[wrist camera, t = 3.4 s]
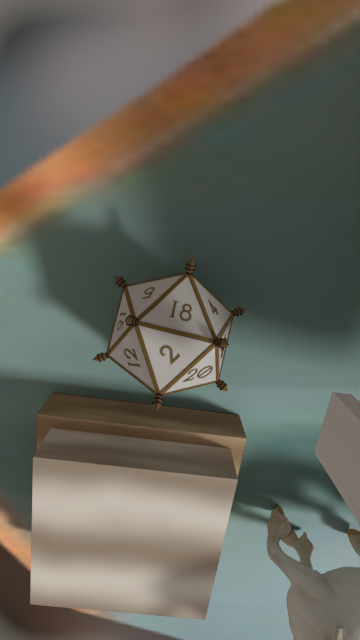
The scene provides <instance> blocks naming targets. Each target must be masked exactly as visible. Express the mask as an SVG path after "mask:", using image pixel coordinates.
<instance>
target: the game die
mask: <svg viewBox="0 0 360 640" xmlns="http://www.w3.org/2000/svg"><path fill="white" fill-rule="evenodd" d="M186 265H187V266H186V267H185V269H186V272H185V273H180V274H175V275H171V276H166V277H162V278H157V279H153V280H148V281H143V282H139V283H134V284H130V285H127V284H126V282H125V280H123V277H122V278H120V277H116V276H115V279H116V284H118V285H119V287H122V288H123V292H122V296H121V300H120V303H119V307H118V311H117V315H116V319H115V323H114V326H113V330H112V334H111V338H110V342H109V346H108V349H107V352H106V353H103V352H102V353H101V354H97V356H96V357H95V358H94V359H93V360H96V361H100V362H101V361H103V360H104V361H105V359H106V358H110V359H111V360H112V361H114V362H115V363H116V364H117V365H119V366H120V367H121V368H123V369H124V370H125V371H126V372H128V373H129V374H130V375H132V376H133V377H134V378H135V379H137V380H138V381H139V382H140V383H142V384H143V385H144V386H146V387H147V388H148V389H149V390H151V391H152V392H153V393H154V395H155V394H156V396H155V398H154V402H152V403H153V405H154V406H155V409H156V411H157V410H158V408H159V407H160V406H162V405H163V404H162V401H163V399H162V396H164V395H168V394H172V393H176V392H180V391H184V390H188V389H192V388H196V387H200V386H204V385H208V384H211V383H216V384H217V387H219V388H220V390H225V391H227V386H226V385H227V384H226V383H224V381H221V380H220V379H219V378H220V373H221V369H222V365H223V360H224V356H225V351H226V347H227V346H228V345H229V344H228V338H229V334H230V329H231V325H232V320H233V316H239V315H242V314H243V312H244V311H245V309H242V308H239V307H238V308H237V309H236V308H235V310H233V311H230V310H229V309H228V308H227V307H226V306H225V305H224V304H223V303H222V302H221V301H220V300H219V299H218V298H217V297H216V296H214V295H213V294H212V293H211V292H210V291H209V290H208V289H207V288H206V287H205V286H204V285H203V284H202V283H201V282H199V281H198V280H197V279H196V278H195V277H194V276H193V275H192V272H193V271H195V269H194V268H195V267H196V265H195V263H194V259H193V258H192V259H191V260H190V261H189V262H188V263H186Z"/></svg>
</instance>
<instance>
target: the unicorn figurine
mask: <svg viewBox="0 0 360 640" xmlns="http://www.w3.org/2000/svg"><path fill="white" fill-rule="evenodd" d="M267 528H268V539H267V551H268V555H269V557H270V558H271V560H272V561H273V562H274V563H275V564H276V565H277V566H278V567H279V568H280V569H281V570H282V571H283V573H284V574H285V575H286V576H287V578H288V579H289V580H290V582H291V584H292V585H291V586H290V588H289V590H288V593H287V609H288V615H289V624H290V628H291V631H292V633H293V637H294V640H360V568H358V567H342V568H338V569H334V570H331V571H327V572H326V573H324V574H320V573H319V572H318V571H316V570H313V567H312V565H311V556H312V553H313V550H314V547H313V545H312V543H311V542H310V541H309V539H308V538H307V534H306V533H305V532H304V533H303V535H302V536H301V537H300V538H299V539H298V537H297V535H296V533H295V532H294V531H293V530H291V525H290V524H289V521H288V518H286V517H285V515H284V512H283V510H282V508H281V506H277V507H276V508H275V509H274V510H273V511H272V512H271V519H270V520H269V522H268V527H267ZM348 537H349V540H350V543H351V545H352V547H353V548H354V550H355V551H356V553H357V554H358V555H359V556H360V532H359V531H357V530H355V529H349V530H348ZM280 539H281V540H282V541H283V542H284V543H286V544H287V545H288V546H290V547H293V548H294V549H295V550H296V551H297V552H298V554H299V556H300V562H298V561H296V560H294V559H293V558H291V557H289V556H288V555H286V554H285V553H284V552H283V551H282V549H281V547H280V546H279V540H280Z"/></svg>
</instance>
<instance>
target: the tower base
mask: <svg viewBox="0 0 360 640" xmlns="http://www.w3.org/2000/svg"><path fill="white" fill-rule="evenodd" d="M246 439H247V438H246V435H245V432H244V429H243V426H242V423H241V420H240V417H239V415H233V414H225V413H217V412H209V411H200V410H192V409H184V408H175V407H167V406H160V407H159V408H158V410H157V411H156V409H155V406H154V405H151V404H142V403H134V402H126V401H118V400H109V399H101V398H93V397H84V396H76V395H68V394H60V393H52V394H51V396H50V397H49V398H48V400H47V401H46V402H45V404H44V405H43V407H42V408H41V409H40V411H39V412H38V413H37V437H36V453H35V455H34V456H33V485H32V540H31V596H30V597H31V598H30V599H31V600H30V604H34V605H45V606H56V607H68V608H79V609H90V610H102V611H113V612H124V613H136V614H147V615H158V616H170V617H181V618H193V619H204V620H205V617H206V613H207V609H208V604H209V600H210V596H211V592H212V587H213V583H214V579H215V575H216V571H217V566H218V562H219V558H220V554H221V550H222V545H223V541H224V537H225V533H226V528H227V524H228V520H229V516H230V512H231V507H232V503H233V499H234V495H235V490H236V486H237V482H238V478H237V477H238V473H239V469H240V465H241V461H242V456H243V452H244V448H245V444H246Z"/></svg>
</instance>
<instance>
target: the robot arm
mask: <svg viewBox="0 0 360 640" xmlns="http://www.w3.org/2000/svg"><path fill="white" fill-rule="evenodd" d="M314 453H315V454H316V456H317V458H318V459H319V461H320V462H321V464H322V466H323V467H324V469H325V470H326V472H327V474H328V475H329V477H330V478H331V480H332V482H333V483H334V485H335V486H336V488H337V490H338V491H339V493H340V494H341V496H342V498H343V499H344V501H345V502H346V504H347V506H348V507H349V509H350V510H351V512H352V514H353V515H354V517H355V518H356V520H357V522H358V523H359V525H360V402H359V401H358V400H357V399H356V398H355V397H354V396H353V395H352V394H343V393H335V392H333V393H332V396H331V399H330V402H329V406H328V409H327V412H326V415H325V418H324V422H323V425H322V428H321V431H320V435H319V438H318V441H317V444H316V448H315V451H314Z"/></svg>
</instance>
